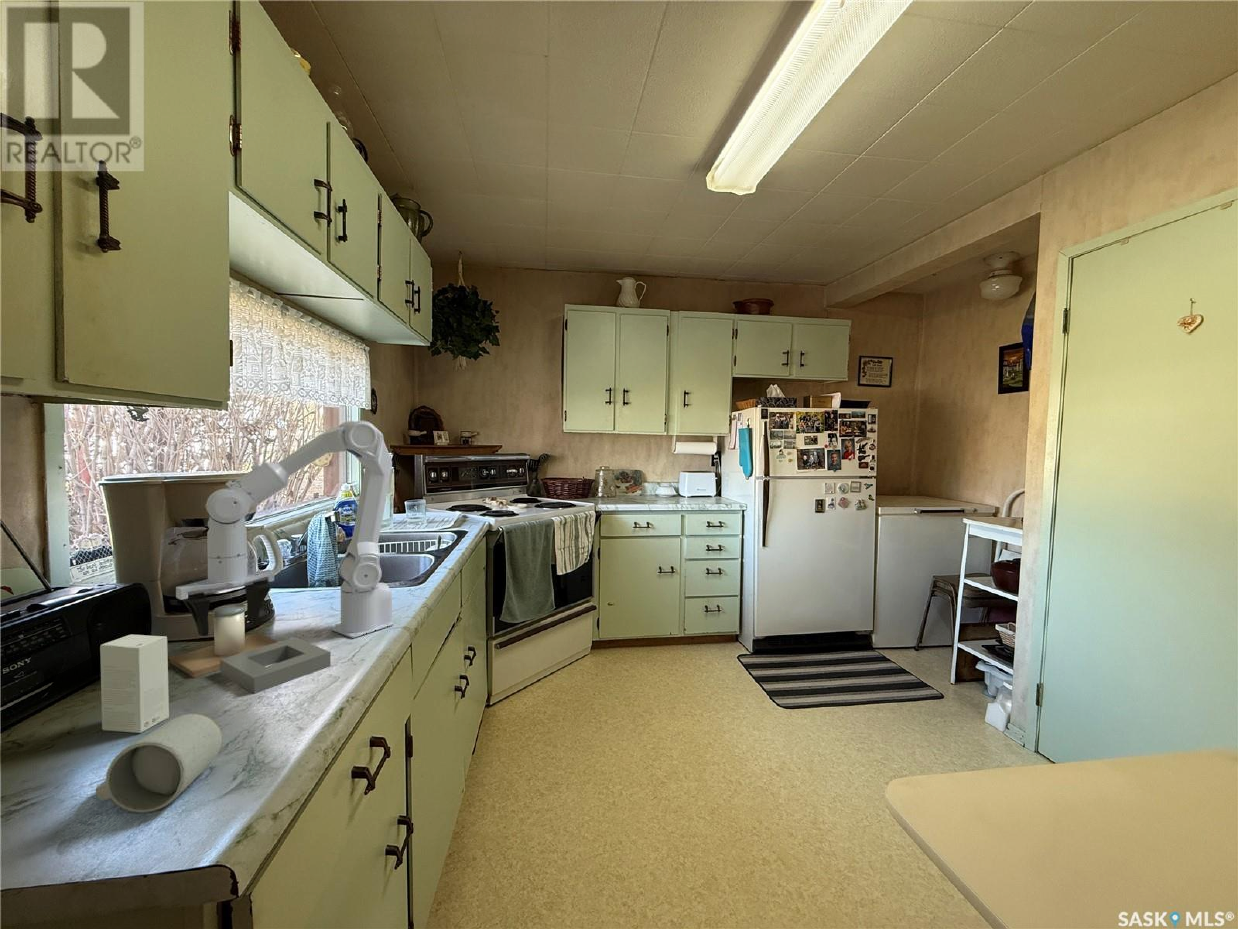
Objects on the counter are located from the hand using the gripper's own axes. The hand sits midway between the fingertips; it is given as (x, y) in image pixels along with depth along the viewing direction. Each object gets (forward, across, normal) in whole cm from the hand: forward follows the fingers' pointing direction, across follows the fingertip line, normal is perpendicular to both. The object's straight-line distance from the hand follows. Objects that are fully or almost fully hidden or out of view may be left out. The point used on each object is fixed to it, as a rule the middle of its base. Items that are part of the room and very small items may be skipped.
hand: (228, 628), depth 93 cm
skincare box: (+5, -17, -15) cm, 23 cm away
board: (+5, 0, 0) cm, 5 cm away
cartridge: (+4, 0, 0) cm, 4 cm away
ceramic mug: (+6, -21, -34) cm, 40 cm away
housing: (+5, +2, -13) cm, 14 cm away
